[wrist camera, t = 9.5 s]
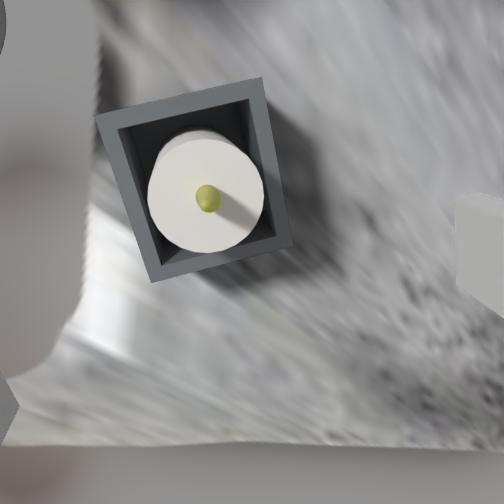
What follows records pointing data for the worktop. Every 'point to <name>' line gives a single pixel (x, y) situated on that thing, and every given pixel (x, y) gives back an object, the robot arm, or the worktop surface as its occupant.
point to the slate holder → (146, 152)
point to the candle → (204, 191)
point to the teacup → (2, 24)
